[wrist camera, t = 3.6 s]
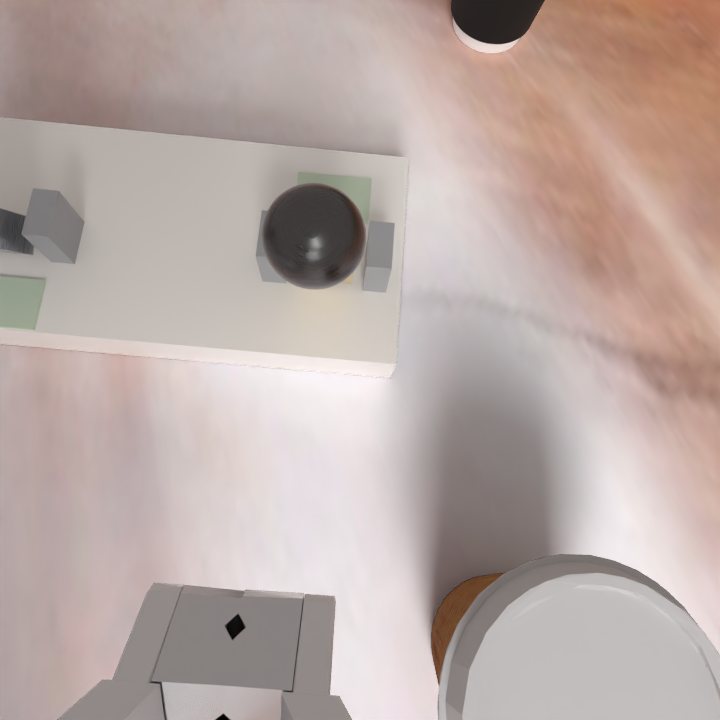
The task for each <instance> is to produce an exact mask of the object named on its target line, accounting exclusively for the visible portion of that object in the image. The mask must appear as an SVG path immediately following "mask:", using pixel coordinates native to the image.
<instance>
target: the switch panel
mask: <svg viewBox="0 0 720 720" xmlns="http://www.w3.org/2000/svg"><path fill="white" fill-rule="evenodd" d="M408 171H409V158H408V157H398V156H388V155H378V154H368V153H358V152H347V151H337V150H327V149H317V148H307V147H297V146H287V145H277V144H267V143H257V142H247V141H237V140H227V139H217V138H207V137H197V136H187V135H177V134H167V133H156V132H146V131H136V130H126V129H116V128H106V127H96V126H86V125H76V124H66V123H56V122H46V121H36V120H26V119H16V118H6V117H0V208H1V209H4V210H8V211H11V212H14V213H17V214H21V215H24V216H26V218H25V222H24V225H23V229H22V233H21V234H22V235H23V236H24V237H25V238H26V239H27V240H28V241H29V242H30V243H31V244H32V245H33V246H34V251H33V255H26V254H15V253H4V252H0V344H5V345H17V346H28V347H40V348H51V349H63V350H74V351H85V352H97V353H108V354H120V355H131V356H142V357H154V358H165V359H177V360H188V361H200V362H211V363H222V364H234V365H245V366H257V367H268V368H279V369H291V370H302V371H314V372H325V373H337V374H348V375H359V376H371V377H382V378H391V376H392V373H393V371H394V369H395V366H396V364H397V348H398V332H399V316H400V299H401V283H402V267H403V251H404V235H405V219H406V203H407V187H408ZM304 183H321V184H326V185H329V186H332V187H334V188H337V189H339V190H340V191H342V192H343V193H345V194H346V195H347V196H348V197H349V198H350V199H351V200H352V201H353V202H354V203H355V204H356V206H357V207H358V209H359V211H360V213H361V215H362V217H363V220H364V224H365V228H366V246H365V251H364V254H363V257H362V259H361V262H360V263H359V265H358V267H357V268H356V269H355V271H354V275H353V280H352V285H351V284H340V283H339V284H337V285H335V286H332V287H329V288H325V289H318V290H313V289H304V288H300V287H297V286H295V285H292V284H290V283H289V282H287V281H285V280H284V279H283V278H281V277H280V276H279V275H278V274H277V273H276V272H275V271H274V269H273V268H272V267H271V265H270V264H269V262H268V260H267V258H266V256H265V253H264V250H263V246H262V225H263V221H264V218H265V215H266V213H267V211H268V209H269V207H270V206H271V204H272V203H273V202H274V200H275V199H276V198H277V197H278V196H279V195H281V194H282V193H283V192H285V191H286V190H288V189H290V188H292V187H294V186H297V185H300V184H304Z"/></svg>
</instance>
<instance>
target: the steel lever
mask: <svg viewBox="0 0 720 720" xmlns="http://www.w3.org/2000/svg"><path fill="white" fill-rule="evenodd" d="M25 218H26V216H24V215H21V214H17V213H14V212H11V211H8V210H4V209H1V208H0V252H4V253H15V254H26V255H33V251H34V246H33V245H32V244H31V243H30V242H29V241H28V240H27V239H26V238H25V237H24V236H23V235H22V234H21V233H22V229H23V225H24V222H25Z"/></svg>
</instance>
